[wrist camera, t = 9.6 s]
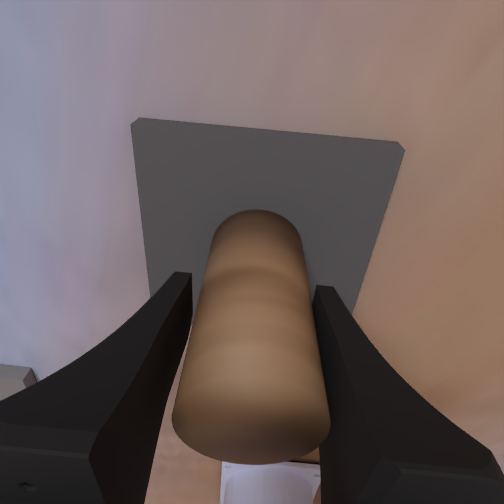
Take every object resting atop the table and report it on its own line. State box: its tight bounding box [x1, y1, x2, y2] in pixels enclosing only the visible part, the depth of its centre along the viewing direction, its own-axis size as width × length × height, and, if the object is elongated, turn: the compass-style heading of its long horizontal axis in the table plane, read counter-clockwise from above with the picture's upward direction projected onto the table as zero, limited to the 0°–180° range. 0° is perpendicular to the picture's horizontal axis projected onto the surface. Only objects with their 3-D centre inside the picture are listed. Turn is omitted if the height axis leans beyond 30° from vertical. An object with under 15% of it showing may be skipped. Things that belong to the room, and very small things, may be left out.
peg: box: [172, 209, 331, 465], centre depth 12 cm, size 4×4×8 cm
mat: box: [130, 118, 405, 324], centre depth 16 cm, size 10×10×1 cm
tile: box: [0, 364, 37, 401], centre depth 25 cm, size 2×6×8 cm
